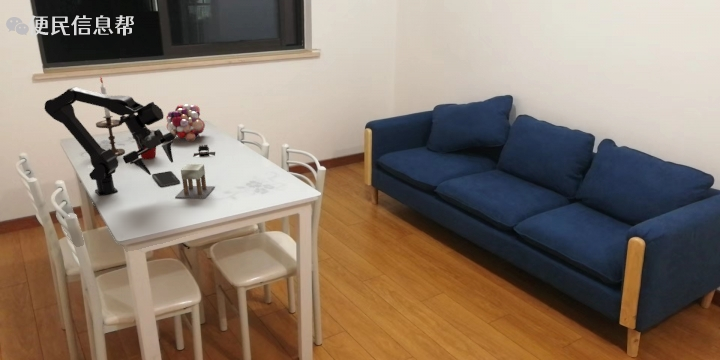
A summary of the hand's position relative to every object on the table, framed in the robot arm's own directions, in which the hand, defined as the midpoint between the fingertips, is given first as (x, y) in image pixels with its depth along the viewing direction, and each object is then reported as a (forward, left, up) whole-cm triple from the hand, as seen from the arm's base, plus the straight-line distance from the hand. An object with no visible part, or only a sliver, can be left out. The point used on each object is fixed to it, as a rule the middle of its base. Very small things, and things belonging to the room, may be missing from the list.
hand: (161, 168), depth 204 cm
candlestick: (-63, +1, -10) cm, 64 cm away
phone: (-14, +6, -10) cm, 19 cm away
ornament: (-65, +36, -10) cm, 75 cm away
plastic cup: (-47, +11, -10) cm, 50 cm away
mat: (+7, +9, -10) cm, 15 cm away
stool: (+7, +9, -9) cm, 15 cm away
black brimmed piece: (-35, +31, -11) cm, 48 cm away
